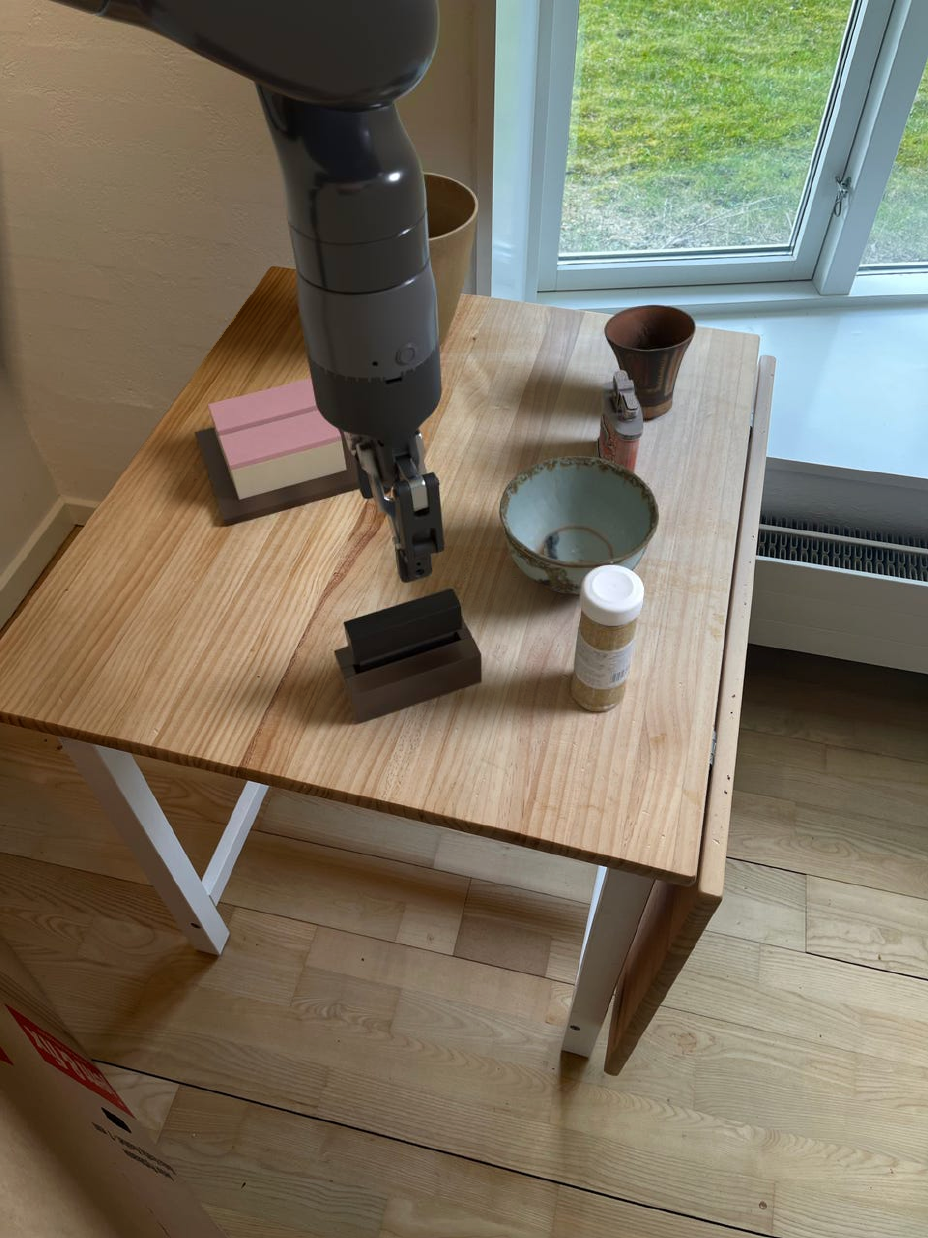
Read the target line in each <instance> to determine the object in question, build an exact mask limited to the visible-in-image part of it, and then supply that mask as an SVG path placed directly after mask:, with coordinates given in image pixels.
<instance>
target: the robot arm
mask: <svg viewBox="0 0 928 1238" xmlns="http://www.w3.org/2000/svg"><path fill="white" fill-rule="evenodd" d="M48 1H49V2H52V3H55V4H59V5H62V6H64V7H66V8H67V7H68V8H71V9H73V10H77V11H80V12H83V13H85V14H89V15H94V16H95V17H97V18H102V19H106V20H109V21H112V22H116V23H119V24H124V25H128V26H132V27H134V28H135V27H136V28H138V29H141V30H144V31H147V32H150V33H153V34H155V35H158V36H159V37H162V38H164V39H167V40H169V41H171V42H173V43H175V44H177V45H179V46H181V47H183V48H185V49H186V50H188V51H190V52H192V53H194V54H196V55H198V56H200V57H201V58H204V59H206V60H207V61H210V62H212V63H214V64H216V65H218V66H220V67H223V68H224V69H227V70H229V71H231V72H233V73H235V74H237V75H240V76H242V77H243V78H245V79H247V80H250V81H252V82H253V84H254V88H255V91H256V94H257V97H258V101H259V104H260V108H261V111H262V115H263V117H264V121H265V124H266V127H267V129H268V133H269V136H270V139H271V142H272V145H273V149H274V152H275V155H276V159H277V163H278V167H279V171H280V176H281V181H282V187H283V189H282V190H283V199H284V208H285V214H286V221H287V226H288V231H289V238H290V242H291V249H292V254H293V259H294V264H295V271H296V293H297V294H296V295H297V296H296V297H297V306H298V314H299V318H300V319H299V320H300V325H301V330H302V336H303V341H304V346H305V352H306V358H307V362H308V369H309V374H310V378H311V380H312V385H313V391H314V396H315V401H316V405H317V408H318V410H319V412H320V413H321V415H322V416H323V417H324V419H325V420H326V421H327V422H329V423H330V424H331V425H332V426H334V427H336V428H338V429H339V430H342V431H344V435H345V438H346V441H347V444H348V448H349V451H351V452H352V455H353V456H354V458H355V465H356V471H357V478H358V484H359V489H358V490H359V492H360V494H361V497H362V498H363V499H364V500H371V499H374V503H375V506H376V509H377V511H378V512H379V513H381V514H384V515H385V516H386V517H387V520H388V525H389V528H390V531H391V541H392V543H393V546H394V554H395V561H396V570H397V574H398V576H399V579H400V581H401V582H402V583H404V584H407V583H408V584H409V583H412V582H415V581H418V580H423V579H424V578H429V577H430V575H432V574H433V560H432V558H433V557H432V555H435V554H440V553H444V552H445V546H446V544H445V540H444V527H443V515H442V504H441V494H440V485H441V484H440V480H439V477H438V476H437V475H436V473H435V472H434V471H430V472H428V471H427V470H428V469H427V467H426V462H425V459H424V457H425V455H426V447H425V443H424V439H423V435H422V432H421V430H420V427H421V426H422V425H423V424H424V423H425V422H426V421H427V420H428V419H429V418H430V417H431V416H432V415H433V414H434V412H435V411H436V409H437V408H438V406H439V404H440V400H441V398H442V393H443V392H442V390H443V389H442V388H443V387H442V371H441V370H442V367H441V351H440V347H439V330H438V312H437V296H436V288H435V282H434V277H433V272H432V268H431V262H430V254H429V238H428V221H427V204H426V189H425V181H424V175H423V172H424V170H423V166H422V162H421V160H420V156H419V154H418V151H417V149H416V147H415V145H414V143H413V141H412V140H411V138H410V136H409V134H408V132H407V130H406V127H405V126H404V124H403V121H402V120H401V117H400V115H399V111H398V107H397V102H398V101H400V100H402V99H403V98H404V97H405V96H407V95H408V94H409V93H410V92H411V91H413V90H414V88H416V86H417V85H418V84H419V83H420V82H421V81H422V79H423V78H424V76H425V75H426V73H427V72H428V69H429V68H430V66H431V64H432V61H433V58H434V57H435V54H436V49H437V46H438V41H439V40H438V39H439V35H440V7H439V0H48ZM390 492H392V494H391V495H392V497H390V498H388V497H387V496H386V495H387V494H389V493H390Z"/></svg>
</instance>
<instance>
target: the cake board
mask: <svg viewBox="0 0 928 1238" xmlns="http://www.w3.org/2000/svg"><path fill="white" fill-rule="evenodd" d="M338 430H339V429H338ZM339 432H340V435H341V439H342V445H343V452H344V458H345V464H346V470H344V471H341V472H337V473H333V474H330V475H326V476H323V477H319V478H316V479H312V480H308V481H305V482H301V483H298V484H294V485H291V486H287V487H283V488H280V489H276V490H273V491H269V492H266V493H262V494H258V495H255V496H251V497H248V498H244V499H241V500H239V498H238V495H237V492H236V490H235V487H234V484H233V481H232V478H231V475H230V473H229V469H228V466H227V464H226V461H225V458H224V456H223V453H222V450H221V447H220V444H219V441H218V438H217V435H216V432H215V428H214V426H213V427H208V428H204V429H201V430H198V431H194V435H195V438H196V441H197V444H198V447H199V450H200V453H201V456H202V459H203V462H204V465H205V468H206V471H207V474H208V477H209V481H210V483H211V486H212V489H213V492H214V495H215V498H216V502H217V504H218V508H219V510H220V514H221V516H222V519H223V523H224V526H225V527H230V526H234V525H238V524H240V523H244V522H247V521H251V520H255V519H258V518H262V517H265V516H268V515H272V514H277V513H279V512H282V511H286V510H290V509H292V508H297V507H300V506H304V505H307V504H311V503H314V502H318V501H321V500H325V499H329V498H332V497H335V496H339V495H342V494H346V493H350V492H353V491H356V490H359V484H358V478H357V471H356V465H355V458H354V456H353V455H352V452H351V451H349V448H348V444H347V441H346V438H345V435H344V431H342V430H339Z"/></svg>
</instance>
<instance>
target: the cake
mask: <svg viewBox="0 0 928 1238" xmlns="http://www.w3.org/2000/svg"><path fill="white" fill-rule="evenodd" d="M219 439H220V442H221V445H222V449H223V452H224V456H225V459H226V463H227V466H228V469H229V473H230V475H231V478H232V481H233V484H234V487H235V490H236V492H237V495H238V498H239V500H241V499H244V498H248V497H251V496H255V495H258V494H262V493H266V492H269V491H273V490H276V489H280V488H283V487H287V486H291V485H294V484H298V483H301V482H305V481H308V480H312V479H316V478H319V477H323V476H326V475H330V474H333V473H337V472H341V471H344V470H346V464H345V458H344V452H343V445H342V439H341V435H340V432H339V430H338V428H336V427H334V426H332V425H331V424H330V423H329V422H327V421H326V420H325V419H324V417H323V416H322V415H321V413H320V412H319V411H315V412H312V413H308V414H304V415H300V416H296V417H293V418H289V419H285V420H281V421H278V422H274V423H270V424H266V425H262V426H259V427H255V428H251V429H247V430H243V431H240V432H236V433H232V434H228V435H225V436H221V437H219Z"/></svg>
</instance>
